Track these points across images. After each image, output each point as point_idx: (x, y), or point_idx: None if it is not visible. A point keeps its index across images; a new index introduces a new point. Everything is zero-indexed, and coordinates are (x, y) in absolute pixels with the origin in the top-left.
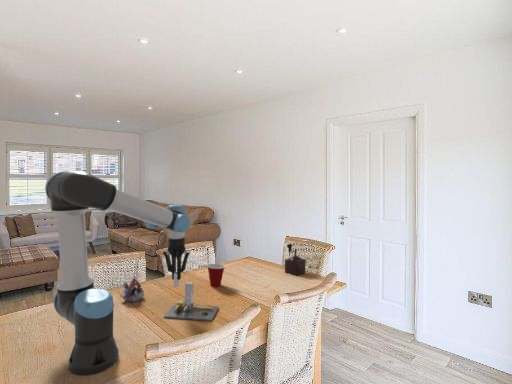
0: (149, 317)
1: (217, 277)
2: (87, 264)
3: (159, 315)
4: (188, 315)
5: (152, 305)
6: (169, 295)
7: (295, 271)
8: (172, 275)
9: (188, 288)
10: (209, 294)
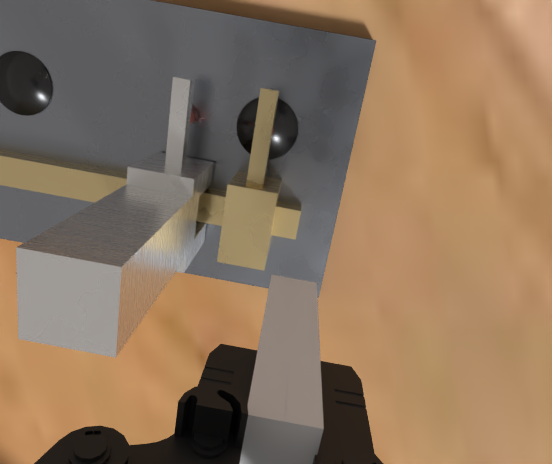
0: (505, 49)
1: None
2: None
3: (419, 92)
4: (154, 54)
5: (506, 290)
6: (392, 459)
7: None
8: (359, 420)
9: (98, 230)
10: None
